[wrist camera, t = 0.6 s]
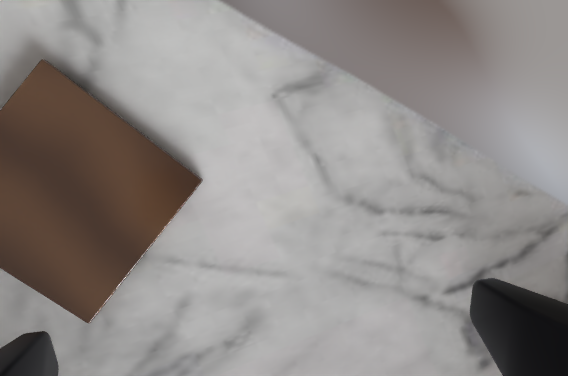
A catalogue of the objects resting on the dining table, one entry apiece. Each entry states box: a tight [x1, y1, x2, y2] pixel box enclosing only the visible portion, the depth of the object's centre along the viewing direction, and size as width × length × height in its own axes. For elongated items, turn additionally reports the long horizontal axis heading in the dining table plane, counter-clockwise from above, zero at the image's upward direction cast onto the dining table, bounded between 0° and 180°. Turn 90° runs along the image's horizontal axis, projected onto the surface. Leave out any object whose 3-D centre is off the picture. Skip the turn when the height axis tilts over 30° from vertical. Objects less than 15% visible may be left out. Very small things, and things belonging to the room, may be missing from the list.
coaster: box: [0, 59, 202, 323], centre depth 21 cm, size 10×10×1 cm
